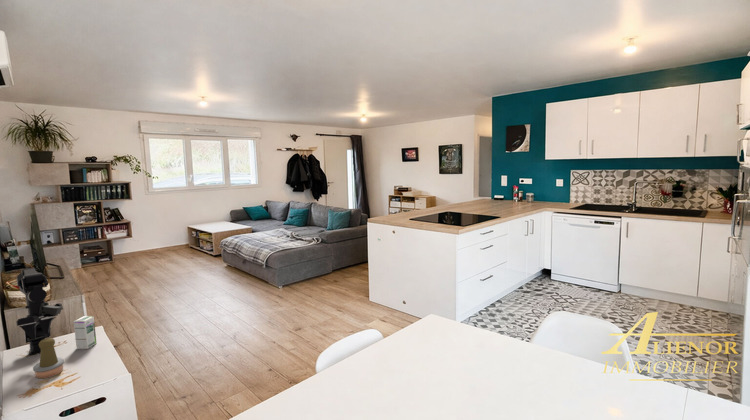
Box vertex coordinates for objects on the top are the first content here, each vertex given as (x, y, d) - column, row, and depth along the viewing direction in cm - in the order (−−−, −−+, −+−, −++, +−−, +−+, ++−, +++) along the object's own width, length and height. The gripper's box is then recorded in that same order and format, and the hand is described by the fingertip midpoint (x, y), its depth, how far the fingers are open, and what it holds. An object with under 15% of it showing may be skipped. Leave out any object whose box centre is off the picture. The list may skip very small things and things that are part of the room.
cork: (59, 363, 158) (57, 338, 157) (41, 369, 153) (39, 344, 152) (55, 358, 161) (53, 334, 160) (37, 364, 157) (35, 340, 155)
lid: (34, 364, 158) (33, 362, 158) (64, 357, 164) (64, 355, 164) (32, 374, 150) (31, 372, 150) (63, 366, 157) (63, 364, 156)
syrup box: (87, 349, 178) (85, 320, 177) (75, 348, 178) (73, 320, 177) (96, 343, 184) (94, 316, 182) (85, 343, 184) (82, 315, 182)
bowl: (36, 372, 158) (35, 364, 158) (63, 365, 164) (62, 357, 164) (34, 381, 151) (33, 373, 151) (63, 374, 157) (62, 366, 157)
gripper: (45, 300, 157) (49, 337, 157) (68, 295, 175) (72, 328, 174) (13, 306, 154) (18, 343, 153) (41, 300, 172) (45, 333, 171)
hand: (40, 336), depth 163 cm, fingers open, 9 cm apart
